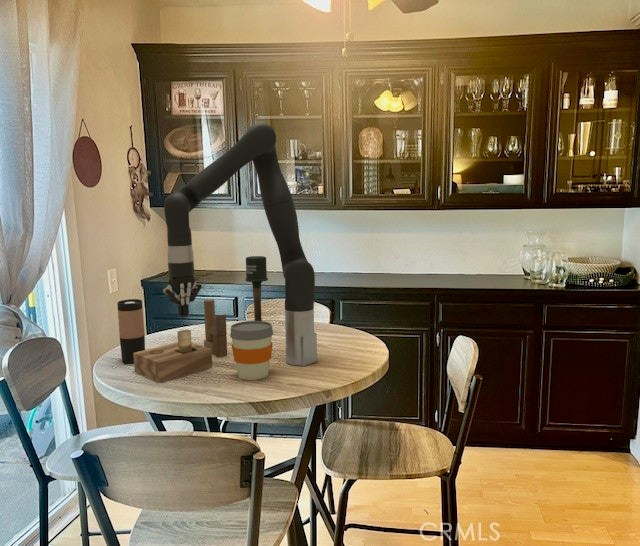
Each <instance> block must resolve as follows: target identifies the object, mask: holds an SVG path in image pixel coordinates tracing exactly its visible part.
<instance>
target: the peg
mask: <svg viewBox="0 0 640 546" xmlns="http://www.w3.org/2000/svg"><path fill="white" fill-rule="evenodd" d="M177 342H178V352H179V353H182V354H184V353H188V352H192V344H191V343H192V331H191V330H189V329H180V330H177Z"/></svg>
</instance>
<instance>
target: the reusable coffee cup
mask: <svg viewBox="0 0 640 546" xmlns="http://www.w3.org/2000/svg"><path fill="white" fill-rule="evenodd" d="M273 335H274V332H273V324H272V323H271V322H269V321H263V320H262V321H254V320H249V321H248V320H247V321H241V322H236V323H233V324H232V325H230V334H229V336H230V339H231V341H232V342H231V343H232V344H231V350H232V357H233V360H234V362H235V365H236V370H237V377H238V378H240V379H241V380H245V379H246V381H257V380H261V379H264V378H266V377H268V376H269V370H270V360H272V352H273V342H272V338H273Z"/></svg>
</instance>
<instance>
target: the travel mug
mask: <svg viewBox="0 0 640 546" xmlns="http://www.w3.org/2000/svg"><path fill="white" fill-rule="evenodd" d="M116 303H117V320H118V333H119V335H118V336H119V344H120V353H121V361H122V364H123V363H124V364H123V365H126V364H134V356H133V353H135V352H139V351H143V350H146V340H145V339H146V336H145V323H144V311H143V310H144V309H143V301H142V299H137V298H133V299H131V298H130V299H123V300H119V301H118V302H116Z"/></svg>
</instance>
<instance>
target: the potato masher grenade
mask: <svg viewBox="0 0 640 546" xmlns="http://www.w3.org/2000/svg"><path fill="white" fill-rule="evenodd" d="M267 271H268V269H267V257H266V256H263V255H252V256H247V257H245V273H246V274H245V275H246V276H245V277H246V278H245V282H248V283H251V284H252V297H253V311H254V312H253V313H254V320H253V321H263V320H262V282H267V281H268V280H269V278H268V275H267V274H268V273H267Z"/></svg>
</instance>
